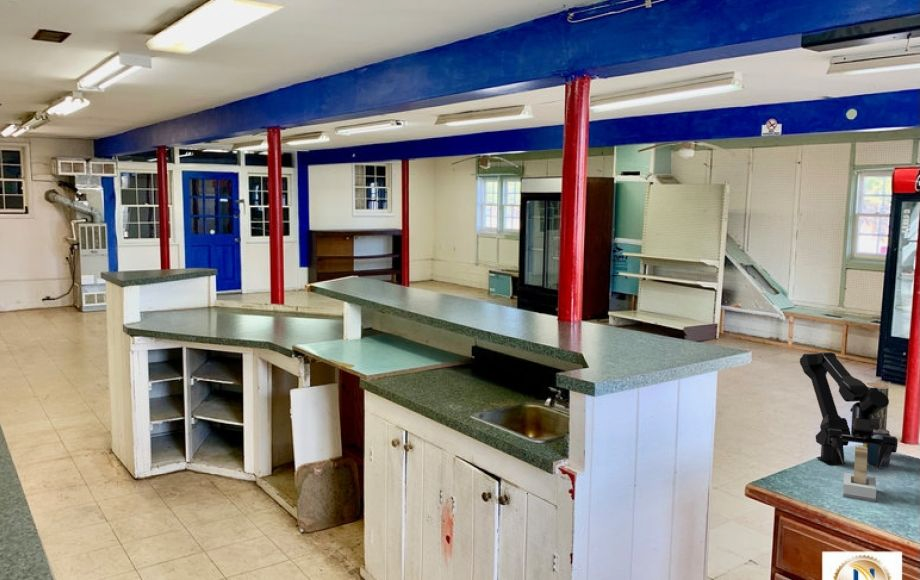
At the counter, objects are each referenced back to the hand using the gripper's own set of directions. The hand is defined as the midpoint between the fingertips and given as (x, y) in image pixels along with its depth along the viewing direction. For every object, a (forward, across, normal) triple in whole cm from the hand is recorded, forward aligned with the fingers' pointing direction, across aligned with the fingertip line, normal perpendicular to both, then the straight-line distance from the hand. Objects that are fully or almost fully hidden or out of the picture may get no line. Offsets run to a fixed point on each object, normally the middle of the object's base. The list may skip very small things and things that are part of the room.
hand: (860, 465), depth 212 cm
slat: (+5, 0, +6) cm, 8 cm away
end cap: (+6, 0, +7) cm, 9 cm away
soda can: (-14, +6, +28) cm, 32 cm away
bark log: (-22, +4, +36) cm, 42 cm away
